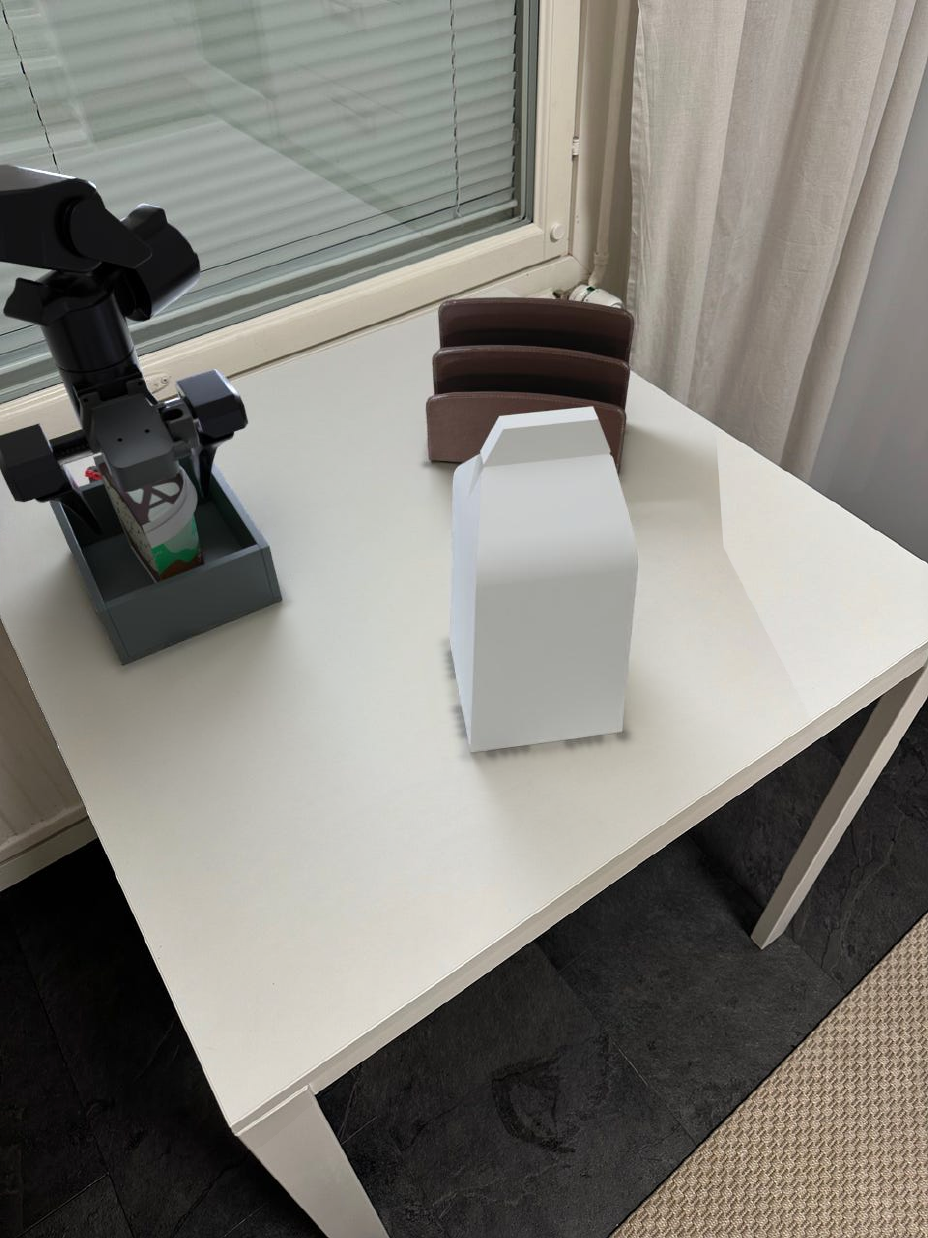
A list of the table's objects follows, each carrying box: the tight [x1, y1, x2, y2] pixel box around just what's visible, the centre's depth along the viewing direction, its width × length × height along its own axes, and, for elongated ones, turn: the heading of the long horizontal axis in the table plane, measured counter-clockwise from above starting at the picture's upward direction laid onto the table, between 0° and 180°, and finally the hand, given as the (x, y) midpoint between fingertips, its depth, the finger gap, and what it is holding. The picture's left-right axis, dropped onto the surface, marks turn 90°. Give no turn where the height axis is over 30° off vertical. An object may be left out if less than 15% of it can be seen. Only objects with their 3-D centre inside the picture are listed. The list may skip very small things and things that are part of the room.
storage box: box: [48, 456, 283, 666], centre depth 80 cm, size 15×17×7 cm
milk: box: [449, 406, 639, 754], centre depth 63 cm, size 12×12×26 cm
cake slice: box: [92, 453, 204, 583], centre depth 79 cm, size 12×6×10 cm, turn 36°
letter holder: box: [425, 296, 635, 474], centre depth 90 cm, size 10×20×14 cm, turn 82°
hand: (153, 513), depth 77 cm, fingers open, 9 cm apart
